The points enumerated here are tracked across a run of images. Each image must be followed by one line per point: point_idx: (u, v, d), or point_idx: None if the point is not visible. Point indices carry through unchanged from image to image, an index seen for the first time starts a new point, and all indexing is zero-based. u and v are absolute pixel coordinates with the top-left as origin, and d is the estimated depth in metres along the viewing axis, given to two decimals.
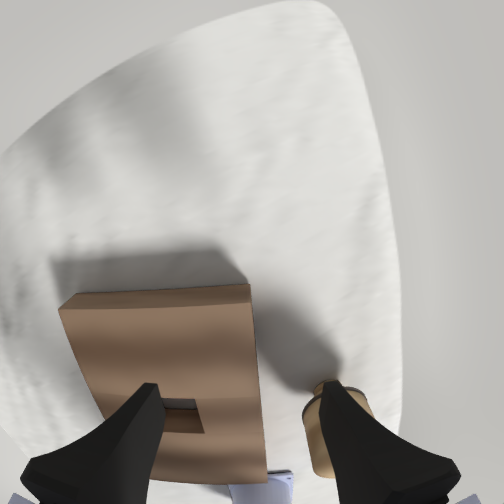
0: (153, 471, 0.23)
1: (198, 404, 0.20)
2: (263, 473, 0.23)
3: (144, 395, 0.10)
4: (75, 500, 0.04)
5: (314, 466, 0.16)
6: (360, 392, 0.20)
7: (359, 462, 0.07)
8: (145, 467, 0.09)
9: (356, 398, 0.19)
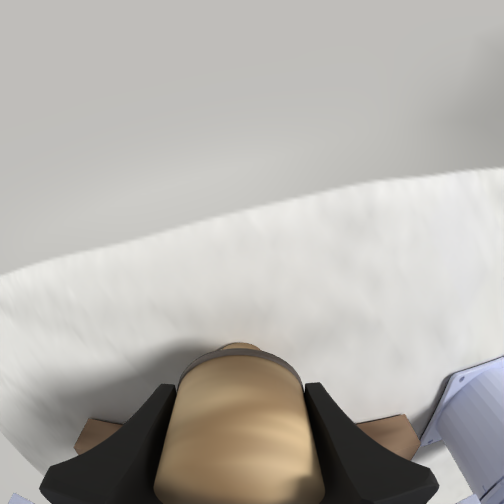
0: None
1: None
2: None
3: (163, 397, 0.10)
4: None
5: None
6: (189, 369, 0.11)
7: (334, 467, 0.07)
8: None
9: (176, 397, 0.10)
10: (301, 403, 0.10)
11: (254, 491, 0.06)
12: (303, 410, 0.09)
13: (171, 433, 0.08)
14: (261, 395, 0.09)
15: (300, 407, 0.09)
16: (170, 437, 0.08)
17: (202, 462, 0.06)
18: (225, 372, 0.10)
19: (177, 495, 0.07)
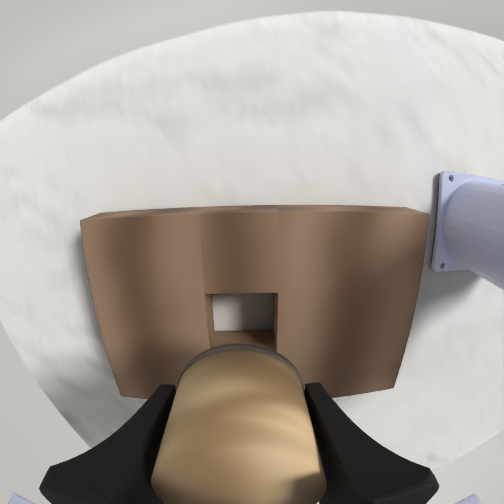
0: (374, 372, 0.20)
1: (215, 291, 0.18)
2: (398, 218, 0.17)
3: (163, 397, 0.10)
4: None
5: None
6: (189, 364, 0.11)
7: (335, 467, 0.07)
8: None
9: (176, 392, 0.10)
10: (301, 397, 0.10)
11: (254, 484, 0.06)
12: (303, 404, 0.09)
13: (170, 425, 0.08)
14: (262, 387, 0.09)
15: (300, 401, 0.09)
16: (169, 429, 0.08)
17: (201, 451, 0.06)
18: (225, 365, 0.10)
19: (175, 489, 0.07)
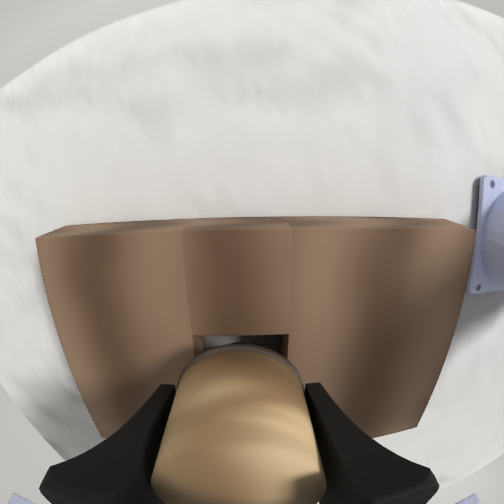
0: (398, 414, 0.15)
1: (206, 332, 0.13)
2: (442, 236, 0.12)
3: (162, 397, 0.10)
4: None
5: None
6: (189, 364, 0.11)
7: (334, 467, 0.07)
8: None
9: (176, 392, 0.10)
10: (301, 398, 0.10)
11: (254, 484, 0.06)
12: (303, 404, 0.09)
13: (170, 425, 0.08)
14: (261, 387, 0.09)
15: (300, 401, 0.09)
16: (169, 429, 0.08)
17: (201, 451, 0.06)
18: (225, 365, 0.10)
19: (175, 489, 0.07)
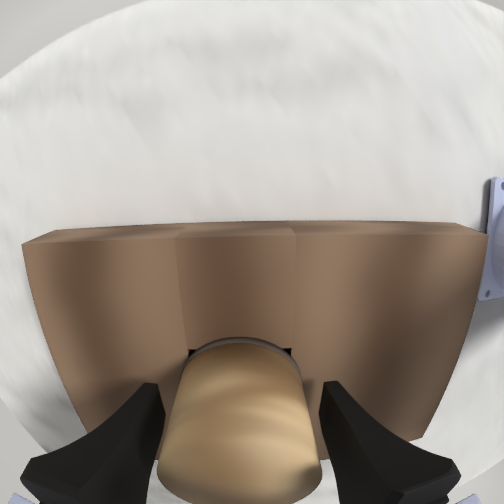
0: (404, 425, 0.14)
1: None
2: (455, 242, 0.11)
3: (144, 395, 0.10)
4: (75, 500, 0.04)
5: None
6: (192, 356, 0.12)
7: (359, 462, 0.07)
8: (145, 467, 0.09)
9: (179, 383, 0.11)
10: (299, 389, 0.10)
11: (254, 472, 0.07)
12: (301, 396, 0.10)
13: (175, 416, 0.09)
14: (261, 379, 0.09)
15: (298, 393, 0.10)
16: (174, 420, 0.08)
17: (205, 441, 0.07)
18: (227, 358, 0.10)
19: (179, 477, 0.07)
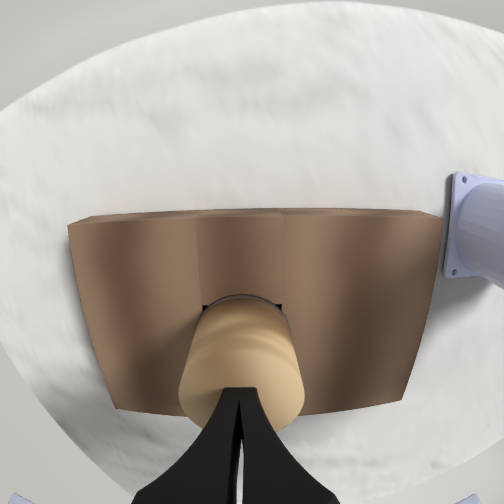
0: (382, 384, 0.18)
1: None
2: (411, 223, 0.15)
3: (233, 400, 0.10)
4: None
5: None
6: (205, 310, 0.16)
7: None
8: (235, 475, 0.09)
9: (195, 331, 0.15)
10: (287, 332, 0.14)
11: (252, 386, 0.11)
12: (288, 336, 0.14)
13: (193, 347, 0.13)
14: (258, 319, 0.13)
15: (286, 333, 0.14)
16: (193, 350, 0.12)
17: (218, 354, 0.11)
18: (232, 307, 0.15)
19: (195, 396, 0.11)
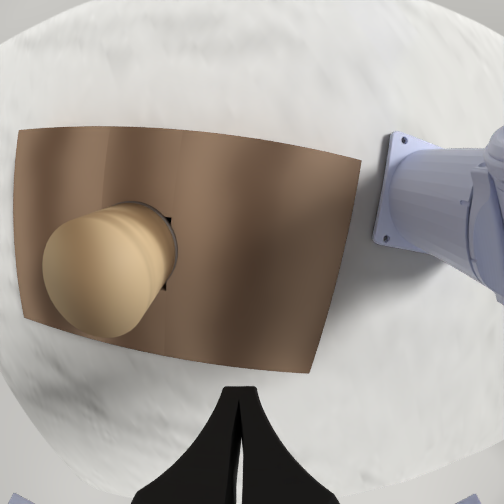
0: (283, 345, 0.18)
1: None
2: (320, 156, 0.15)
3: (233, 400, 0.10)
4: None
5: (93, 334, 0.12)
6: None
7: None
8: (235, 475, 0.09)
9: None
10: (162, 237, 0.14)
11: (98, 263, 0.11)
12: (160, 240, 0.14)
13: None
14: (132, 213, 0.13)
15: (158, 235, 0.14)
16: None
17: (74, 219, 0.10)
18: (119, 205, 0.14)
19: (54, 268, 0.11)
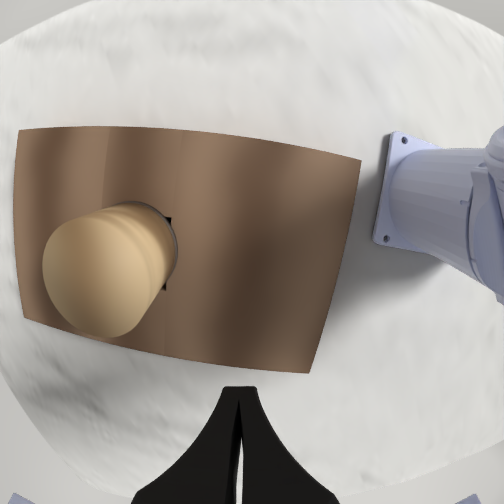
0: (283, 345, 0.18)
1: None
2: (320, 156, 0.15)
3: (233, 400, 0.10)
4: None
5: (93, 333, 0.12)
6: None
7: None
8: (235, 475, 0.09)
9: None
10: (162, 237, 0.14)
11: (98, 263, 0.11)
12: (160, 239, 0.14)
13: None
14: (132, 212, 0.13)
15: (158, 235, 0.14)
16: None
17: (74, 219, 0.10)
18: (119, 205, 0.14)
19: (54, 267, 0.11)
